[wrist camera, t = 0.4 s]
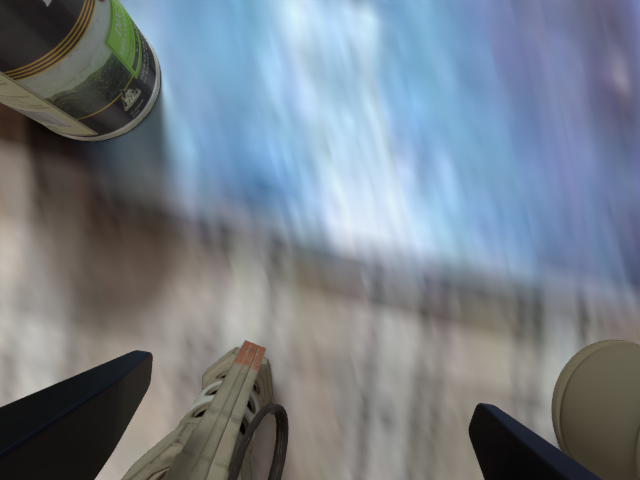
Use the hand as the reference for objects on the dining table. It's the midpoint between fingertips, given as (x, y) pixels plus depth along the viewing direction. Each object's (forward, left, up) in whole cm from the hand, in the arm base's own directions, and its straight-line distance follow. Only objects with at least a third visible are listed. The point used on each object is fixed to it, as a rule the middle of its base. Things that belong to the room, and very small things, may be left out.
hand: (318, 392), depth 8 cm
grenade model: (-6, -1, -16) cm, 17 cm away
